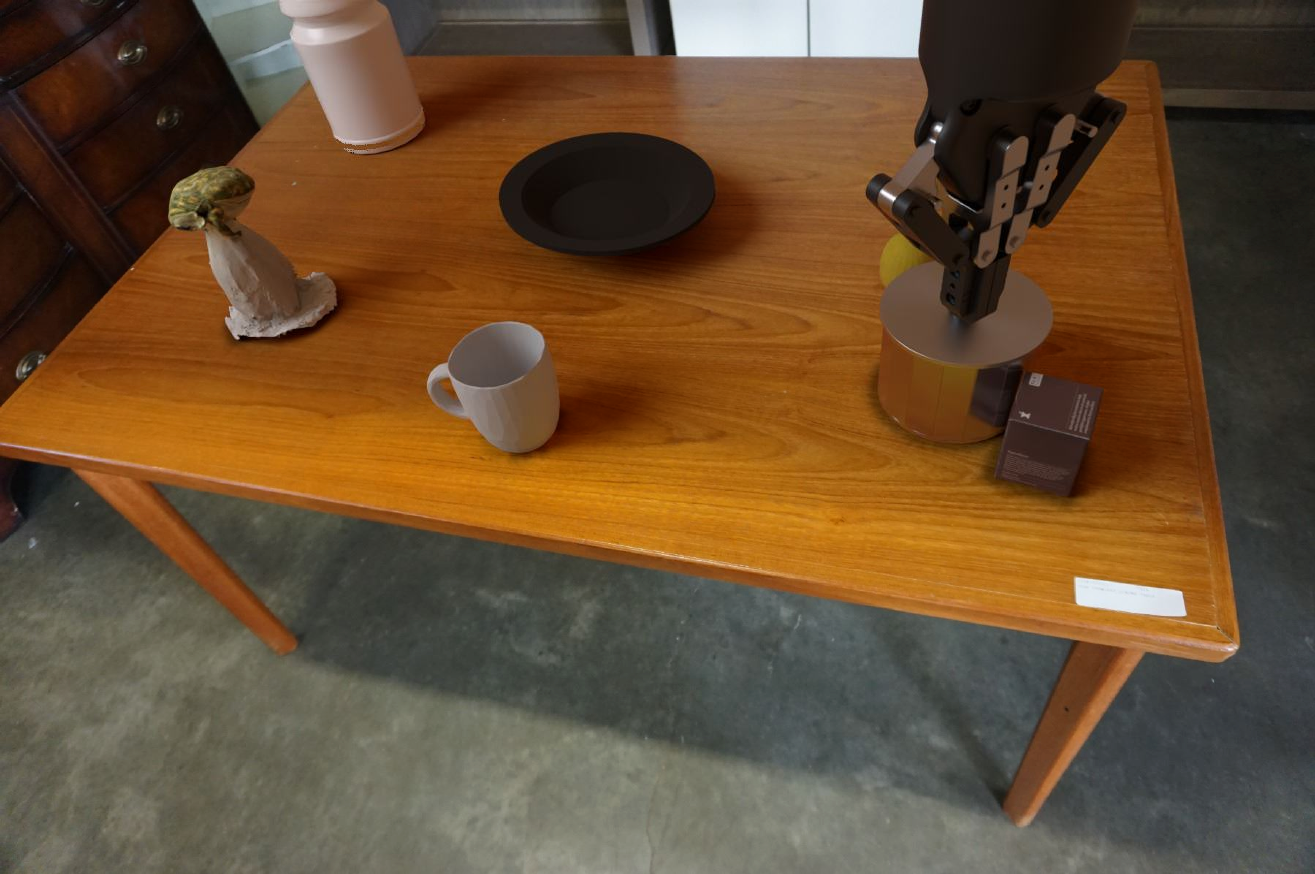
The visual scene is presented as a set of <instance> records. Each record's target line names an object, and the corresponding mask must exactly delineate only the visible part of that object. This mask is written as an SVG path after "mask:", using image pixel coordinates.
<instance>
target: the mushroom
mask: <svg viewBox="0 0 1315 874" xmlns="http://www.w3.org/2000/svg"><path fill="white" fill-rule="evenodd" d="M242 169H243V170H246V167H245V166H243V167H242ZM255 190H256V182H255V180H254V178H253V177H251V176H250V174H247V173H245V172H243V171H242V170H241V169H240V168H238V167H230V166H227V165H221V166H217V167H210V168H205V169H201V170H199V171H197V172H195V173H194V174H191V175H189V176H188V177H186V178H183V179H181V180H180V181H179V182H177V183H176V185H175V186H174V187H173V189H172V191H171V195H170V199H169V205H168V214H167V215H168V216H167V219H168V221H169V224H170V226H171V227H172V228H174V229H176V230H179V231H183V232H190V233H194V232H199V231H204V235H205V240H206V244H207V250H208V257H209V262H207V263H208V264H209V265H210V267H211V271H212V274H213V276H214V278H215V279H216V281H217V283H218V284H219V287H221V289H222V291H224V293H225V295H226V297H227V298H228V300H229V302H230V303H231V305H229V306H228V311H229V315H230V316H229V317H228V316H225V317H224V320H225V325H226V326H227V328H228V330H229V331H230V333H231V334H232V336H233V338H234V339H236V340H240V339H241V338H240V337H241V336H245V337H250V338H251V337H252V338H253V337H255V338H260V337H267V338H272V337H273V338H274V337H277V338H280V337H281V335H283V336H285V335H287V332H288V331H289V332H292V331H293V330H294V329H295V330H296V329H302V328H308V327H309V328H311V327H314V326H315V325H316V324H317V322H318V321H321V320H322V318H323V317H324V316H325V315H328V314H330V311H334V310H335V307H337V306H338V302H337V301H338V300H337V292H336V291H337V288H336V285H335V283H334V281H333V280H332V279H331V278H330V277H329V276H328V275H327V274H326V272H324V271H322V272H320V271H318V272H317V271H312V273H311V274H309V275H307V276H306V277H302V278H300V277H298V274H299V273H298V270H297V269H295V266H294V265H293V262H291V261H290V259H289V258H288V257H287V256H285V254H284V253H283V252H281V250H279V248H278V247H277V246H276V244H274V243H273V242H271V241H270V240H269V239H267V238H266V237H265V236H263V235H261V234H260V233H259V232H257V231H255V230H253V229H252V228H249V227H248V226H246V225H245V224H242V223H240V221H238V220H237V217H239V216H240V215H241V214H242V213H243V212H244V210H245V209H246V208H247V207H248V205H249V204H250V202H251V199H252V197H253V194H254V193H255Z"/></svg>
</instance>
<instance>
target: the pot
mask: <svg viewBox="0 0 1315 874" xmlns="http://www.w3.org/2000/svg"><path fill="white" fill-rule="evenodd" d="M1041 347H1042V345H1041V346H1040V347H1039V348H1038V349H1037V350H1036V351H1035V352H1033V353H1032V354H1030V355H1029V356H1027V357H1025V358H1023V359H1021V360H1019V361H1017V362H1014V363H1011V364H1008V365H1004V366H1000V367H996V368H988V369H957V368H949V367H945V366H940V365H936V364H933V363H930V362H926V361H924V360H922V359H919V358H917V357H915V356H913V355H911V354H909V353H908V352H906V351H905V350H903V349H902V348H900V347H899V346H898V345H897V344H896V343H895V342H893V341H892V339H891V338H890V337H889V336H888V335H887V333H886V332H885V330H884V328H883V327H882V337H881V345H880V357H879V367H878V368H879V369H878V378H877V388H876V390H877V395H878V400H879V403H880V405H881V407H882V409H883V410H884V412H885V414H887V416H888V418H890V419H891V420H892V421H893V422H894V423H895V424H896V425H898V426H899V427H900V428H901V429H903V430H905V431H906V432H908V433H910V434H912V435H915V436H916V437H919V438H922V439H925V440H927V441H932V442H936V443H942V444H952V445H953V444H954V445H957V444H958V445H962V444H963V445H964V444H972V443H978V442H982V441H986V440H989V439H991V438H994V437H996V436H998V435H1000V434H1003V432H1005V430H1006V427H1007V423H1008V419H1009V416H1010V413H1011V410H1012V407H1013V405H1014V402H1015V399H1016V395H1017V393H1018V390H1019V388H1020V385H1021V382H1022V379H1023V376H1024V373H1025V372H1033V373H1035V368H1036V365H1037V361H1038V358H1039V354H1040V351H1041Z"/></svg>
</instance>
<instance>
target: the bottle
mask: <svg viewBox="0 0 1315 874" xmlns="http://www.w3.org/2000/svg"><path fill="white" fill-rule="evenodd" d="M278 7H279V9H280V12H281V14H282V15H284V16H286V17H288V18H290V19H291V20H293V24H292V27H291V29H290V32H289V37H290V40H291V42H292V45H293V47H294V49H295V50H296V53H297V55H298V57H299V59H300V61H301V64H302V66H303V68H304V70H305V72H306V75H307V77H308V79H309V81H310V83H311V86H312V88H313V90H314V92H315V95H316V97H317V99H318V101H319V103H320V106H321V108H322V111H323V112H324V115H325V117H326V119H327V122H328V124H329V126H330V128H331V132H332V135H333V137H334V139H335V138H336V139H338V140H339V141H341V142H342V143H344V144H345V143H346V144H352V145H355V146H356V145H365V144H366V145H367V144H376V143H380V142H383V141H388V140H390V139H393V138H396V137H397V136H400V135H402V134H403V133H406V132H407V131H409V130H410V129H411V128H413V127H414V126H415V125H416V124H417V123H418V122H419V120H420V119H421V118H422V114H423V109H424V107H423V105H422V103H421V100H420V97H419V95H418V92H417V89H416V86H415V84H414V81H413V77H412V74H411V72H410V68H409V66H408V63H407V61H406V57H405V54H404V52H403V49H402V46H401V44H400V43H401V42H400V40H399V37H398V35H397V31H396V29H395V25H394V22H393V20H392V16H391V13H390V11H389V9H388V7H387V6H386V5H385V4H383V3H381V2H379V1H378V0H278ZM422 125H423V124H422ZM425 126H426V123H425V124H424V126H423V127H424V128H425ZM423 127H422V126H421V127H419V128H420V129H418V130H417V131H416V132H414V134H411V135H410V136H408V137H406V138H405V139H403V140H401V141H398V142H396V143H393V144H391V145H388V146H384V147H380V148H376V149H367V150H368V151H367V150H354V149H348V148H347V149H345V148H344V149H343V150H344V151H346V150H347V151H346V152H348V153H350V152H352V153H351V154H357V155H368V154H369V155H370V154H371V155H372V154H379V153H383V152H386V151H391V150H393V149H395V148H398V147H400V146H403V145H405V144H407V143H408V142H410V141H411V140H413V139H414V138H416V137H418V135H419V134H420V133H421V132H422V131H423V129H424V128H423ZM421 128H423V129H421ZM419 131H420V132H419ZM415 133H416V134H415ZM418 133H419V134H418ZM336 139H335V140H336ZM348 150H349V151H348ZM350 150H352V151H350ZM353 150H354V151H353ZM369 150H370V151H369ZM353 152H354V153H353Z"/></svg>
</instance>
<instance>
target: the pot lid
mask: <svg viewBox="0 0 1315 874" xmlns="http://www.w3.org/2000/svg"><path fill="white" fill-rule="evenodd" d="M943 272H944V266H942V265H941V264H939V263H938V262H936V261H932V262H928V263H924V264H921V265H918V266H915V267H913V268H911V269H908V270H907V271H905V272H903V273H901V274H900V275H899V276H897V277H896V278H895V279H894V280H893V281H892V282H891V283H890V284H889V285H888V286H887V288H885V289H884V291H883V293H882V295H881V296H880V301H879V307H878V308H879V310H878V315H879V320H880V323H881V326H882V329H883V328H884V330H885V332H886V333H887V335H888V336H889V337H890V338H891V339H892V341H893V342H895V343H896V344H897V345H898V346H899V347H900V348H902V349H903V350H905V351H906V352H908V353H909V354H911V355H913V356H915V357H917V358H919V359H922V360H924V361H926V362H930V363H933V364H936V365H940V366H945V367H949V368H957V369H988V368H996V367H1000V366H1004V365H1008V364H1011V363H1014V362H1017V361H1019V360H1021V359H1023V358H1025V357H1027V356H1029V355H1030V354H1032V353H1033V352H1035V351H1036V350H1037V349H1038V348H1039V347H1040V346H1041V347H1042V345H1043V344H1044V343H1045V342H1046V340H1047V339H1048V337H1049V335H1050V333H1051V330H1052V327H1053V323H1054V309H1053V306H1052V304H1051V301H1050V299H1049V297H1048V295H1047V294H1046V292H1044V289H1042V288H1041V287H1040V285H1038V284H1037V283H1036V282H1035V281H1034V280H1032V279H1031V278H1030V277H1028V276H1027V275H1025V274H1023V273H1021V272H1019V271H1018V270H1015V269H1013V268H1011V267H1009V269H1008V272H1007V278H1006V279H1005V280H1006V282H1005V287H1004V290H1003V292H1002V294H1001V296H1000V298H999V302H998V306H997V310H996V311H995V312H994V313H992V314H990V315H988V316H986V317H984V318H982V319H980V320H978V321H977V322H975V323H973V324H968V323H966V322H965V321H963V320H962V319H961V318H959V317H958V316H956V315H955V314H954V313H952V312H951V311H949V310H948V309H947V308H946V307H945V306H944V305H942V304H941V301H940V292H941V289H942V288H941V286H942V282H943V281H942V279H943ZM1041 347H1040V348H1041Z"/></svg>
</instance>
